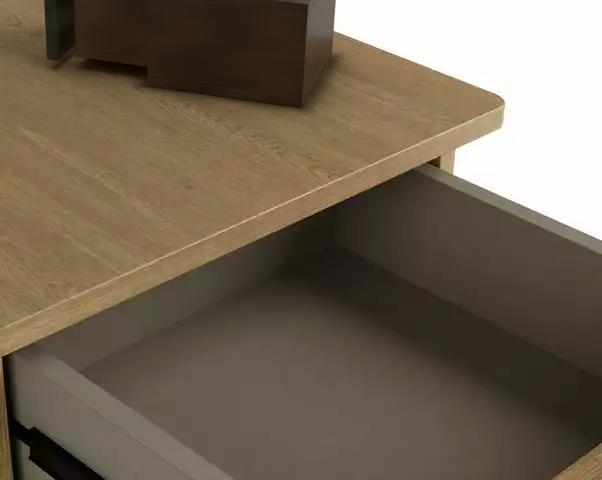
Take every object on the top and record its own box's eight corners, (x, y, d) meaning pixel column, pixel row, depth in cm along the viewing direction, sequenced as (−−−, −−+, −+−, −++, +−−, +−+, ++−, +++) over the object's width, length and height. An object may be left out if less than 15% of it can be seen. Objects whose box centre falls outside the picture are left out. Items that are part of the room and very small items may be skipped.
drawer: (-21, 50, 123) (-27, -32, 119) (31, 8, 134) (27, -68, 130) (184, 79, 120) (185, -4, 116) (221, 34, 131) (223, -43, 127)
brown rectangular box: (147, 85, 121) (146, -17, 116) (190, 37, 132) (191, -59, 127) (301, 108, 119) (308, 4, 113) (331, 56, 130) (338, -41, 125)
